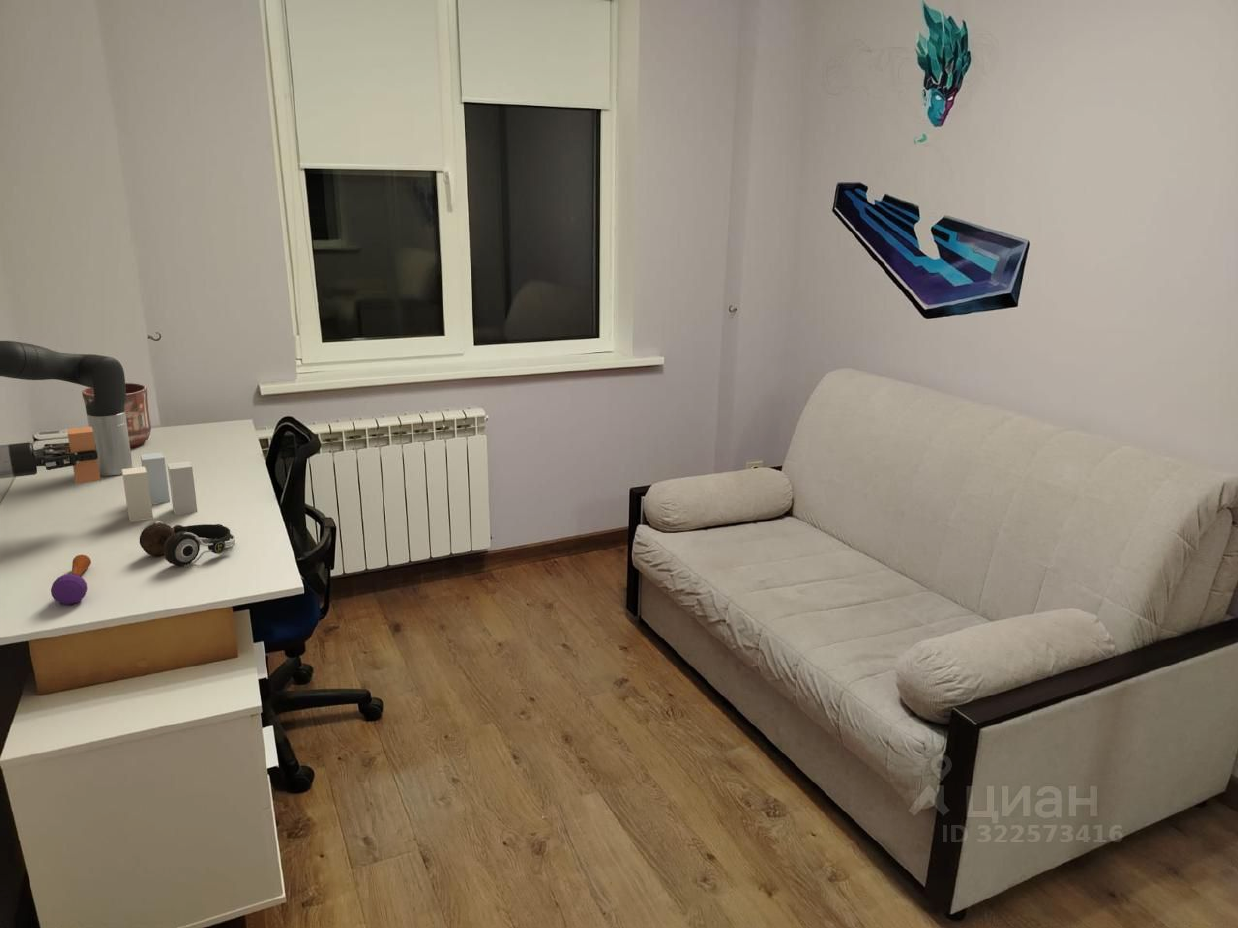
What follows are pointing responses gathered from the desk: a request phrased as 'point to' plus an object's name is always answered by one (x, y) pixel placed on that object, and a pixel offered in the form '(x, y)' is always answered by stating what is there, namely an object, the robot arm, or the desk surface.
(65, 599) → the purple maraca
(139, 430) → the pottery
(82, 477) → the rust block
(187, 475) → the grey block
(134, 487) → the cream block
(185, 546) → the headset
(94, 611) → the desk surface
